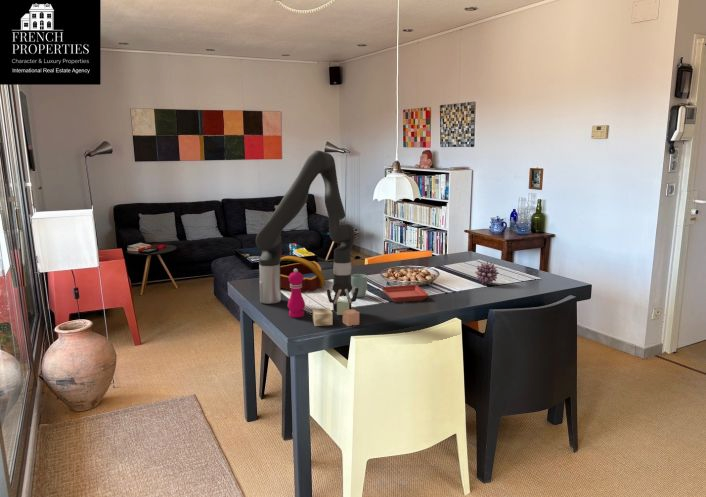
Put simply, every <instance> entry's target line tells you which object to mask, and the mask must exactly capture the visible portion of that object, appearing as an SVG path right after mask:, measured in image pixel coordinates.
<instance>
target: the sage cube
mask: <svg viewBox="0 0 706 497" xmlns="http://www.w3.org/2000/svg"><path fill="white" fill-rule="evenodd" d="M336 304H337V312H335V314H336V315H337V316H343V311H344V310H349V302H348V300H347V299H338V300H337V303H336Z"/></svg>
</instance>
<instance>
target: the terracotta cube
mask: <svg viewBox="0 0 706 497" xmlns="http://www.w3.org/2000/svg"><path fill="white" fill-rule="evenodd" d="M342 323H343V324H344V325H345V326H347V327H352V325H353V326H357V325H358V326H359V325H360V311H357V310H356V309H354V308H353V309H352V308H351V310H344V311H343V315H342Z"/></svg>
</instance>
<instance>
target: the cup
mask: <svg viewBox="0 0 706 497" xmlns="http://www.w3.org/2000/svg"><path fill="white" fill-rule="evenodd" d="M351 285H352V287H357V288H358V289H359V290H358V294H357V298H364V297H365V296H366V294H367V289H368V275H366V274H364V273H363V274H362V273H354V274H351ZM350 293H351V295H352V296H353V289H352V290H351V291H350ZM357 298H356V299H357Z"/></svg>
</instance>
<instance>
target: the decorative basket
mask: <svg viewBox="0 0 706 497" xmlns="http://www.w3.org/2000/svg"><path fill="white" fill-rule="evenodd" d="M282 261H291V262H295V263H291V264H287V265H285V264H284V265H280V289H281V288H282V289H286V290H290V291H291V288H290V284H291V283H290V282H289V275H290V274H291V273H293V272H294V269H298V272H299V273H301V274H302V275H303V281H302V287H301V292H314V291H316V290H317V289H319V288H321V287H324V286H325V285H326V278H325V276H324V275H323V272H322V267H321V265H320V264H319V263H318V262H316V261H315V260H313V261H310V260H307V259H306V258H302V257H299V256H295V255H286V256H281V258H280V263H281V262H282Z"/></svg>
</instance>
